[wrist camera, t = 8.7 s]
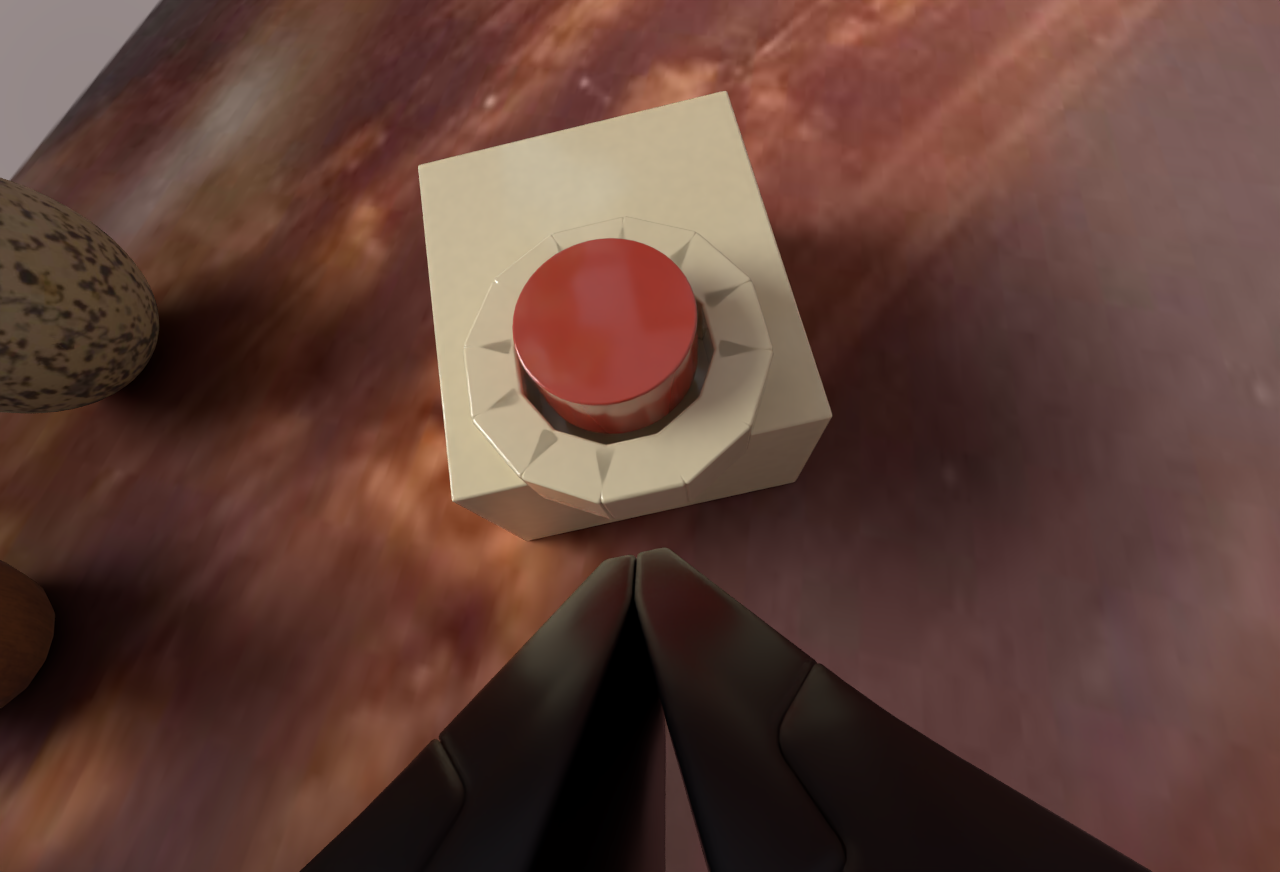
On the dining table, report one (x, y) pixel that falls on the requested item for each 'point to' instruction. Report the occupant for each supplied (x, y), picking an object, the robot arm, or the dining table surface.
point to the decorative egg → (66, 307)
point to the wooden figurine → (22, 631)
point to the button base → (726, 312)
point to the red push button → (608, 334)
